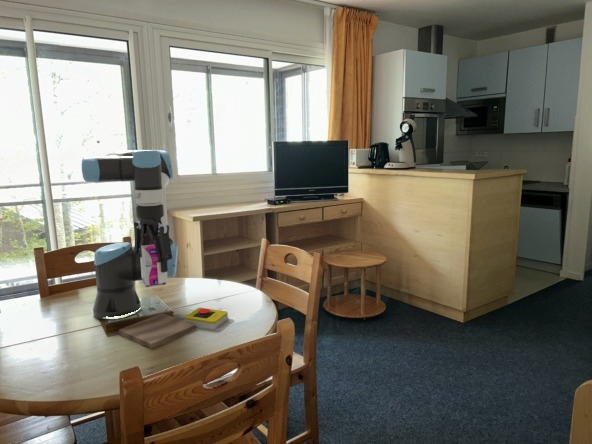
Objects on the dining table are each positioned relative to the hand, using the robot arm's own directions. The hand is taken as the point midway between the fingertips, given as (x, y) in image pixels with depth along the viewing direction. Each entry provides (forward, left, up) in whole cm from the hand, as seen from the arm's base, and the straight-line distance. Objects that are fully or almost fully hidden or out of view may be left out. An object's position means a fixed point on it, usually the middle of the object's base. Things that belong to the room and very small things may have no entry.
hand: (154, 279), depth 128 cm
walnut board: (0, 0, -17) cm, 17 cm away
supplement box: (0, 0, -1) cm, 1 cm away
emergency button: (+7, +14, -17) cm, 23 cm away
